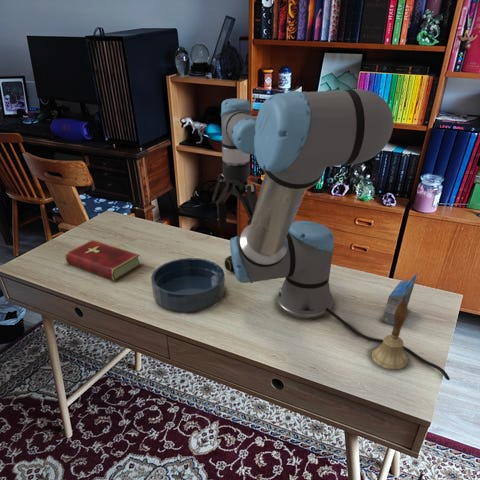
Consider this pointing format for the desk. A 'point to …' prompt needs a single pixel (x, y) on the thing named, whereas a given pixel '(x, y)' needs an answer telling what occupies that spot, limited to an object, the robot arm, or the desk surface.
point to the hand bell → (393, 344)
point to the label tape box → (398, 298)
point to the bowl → (188, 284)
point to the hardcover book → (103, 259)
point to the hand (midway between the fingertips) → (236, 233)
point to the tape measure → (229, 264)
